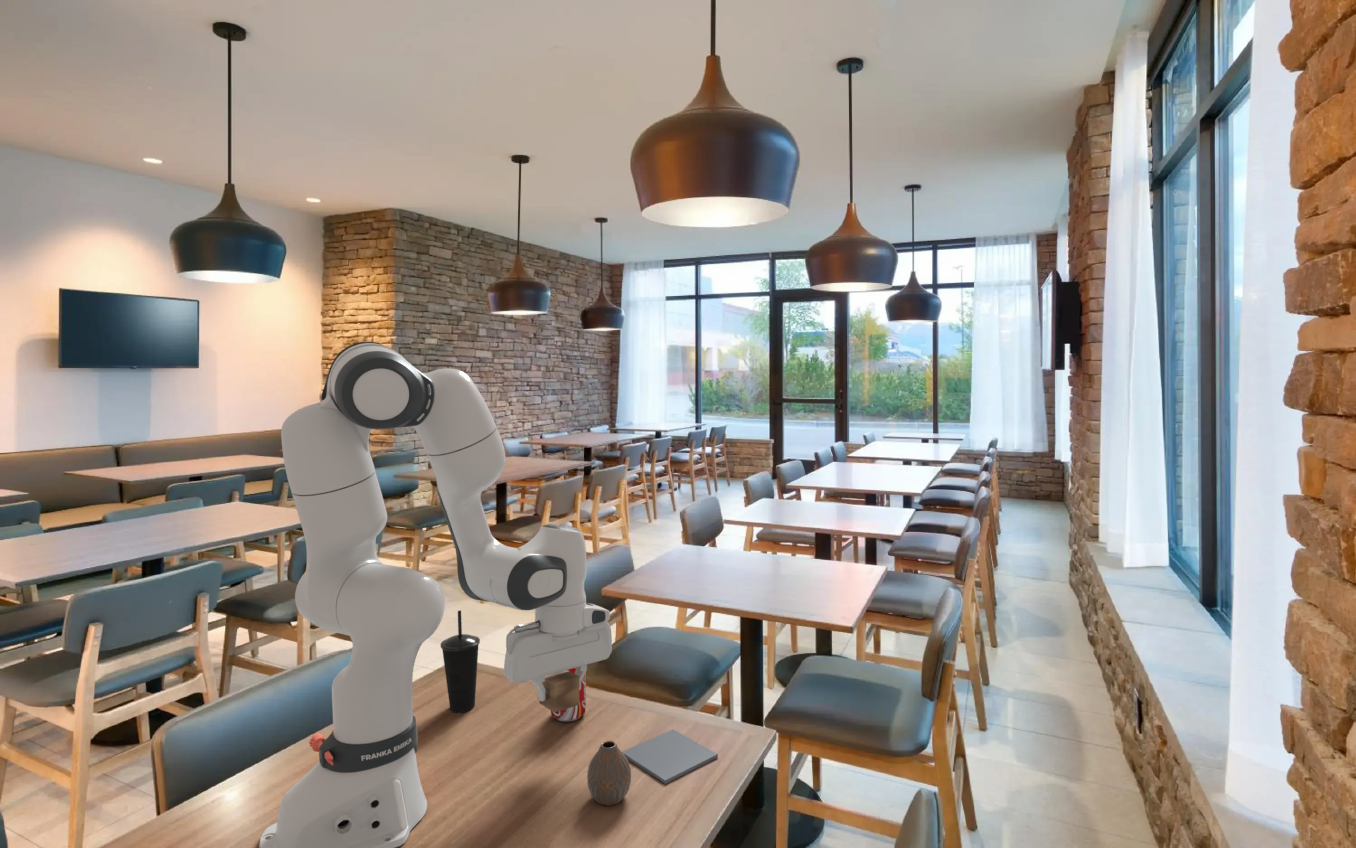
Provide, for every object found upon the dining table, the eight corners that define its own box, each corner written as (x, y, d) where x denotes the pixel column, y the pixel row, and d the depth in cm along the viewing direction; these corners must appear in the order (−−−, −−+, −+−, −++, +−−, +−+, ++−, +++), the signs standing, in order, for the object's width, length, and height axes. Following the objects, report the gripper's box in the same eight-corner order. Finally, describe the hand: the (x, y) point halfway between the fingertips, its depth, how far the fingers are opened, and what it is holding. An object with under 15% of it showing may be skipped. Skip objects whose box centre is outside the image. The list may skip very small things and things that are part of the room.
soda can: (583, 724, 133) (582, 663, 133) (546, 724, 133) (545, 663, 133) (588, 707, 140) (587, 649, 140) (554, 707, 140) (552, 649, 140)
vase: (591, 785, 113) (590, 733, 112) (633, 785, 113) (632, 733, 112) (584, 811, 106) (583, 755, 105) (629, 811, 106) (628, 756, 105)
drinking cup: (447, 699, 145) (444, 605, 144) (484, 697, 145) (481, 604, 144) (438, 717, 137) (435, 618, 136) (478, 714, 138) (475, 616, 137)
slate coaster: (665, 783, 113) (665, 780, 113) (621, 755, 122) (621, 751, 122) (717, 757, 121) (717, 753, 121) (672, 732, 130) (672, 729, 130)
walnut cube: (554, 712, 118) (554, 683, 118) (539, 703, 122) (539, 674, 122) (579, 704, 121) (579, 676, 121) (563, 695, 125) (564, 668, 125)
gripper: (516, 632, 112) (515, 717, 112) (617, 610, 126) (616, 685, 126) (497, 623, 117) (496, 704, 117) (597, 602, 130) (596, 675, 131)
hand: (559, 694), depth 121 cm, fingers closed on walnut cube, 5 cm apart
